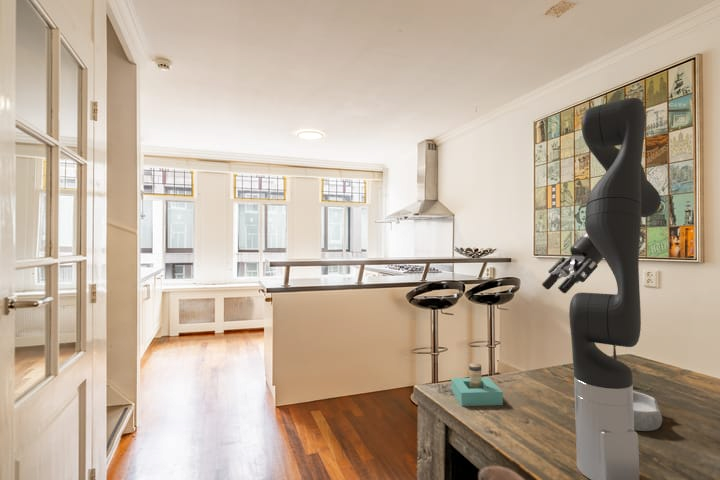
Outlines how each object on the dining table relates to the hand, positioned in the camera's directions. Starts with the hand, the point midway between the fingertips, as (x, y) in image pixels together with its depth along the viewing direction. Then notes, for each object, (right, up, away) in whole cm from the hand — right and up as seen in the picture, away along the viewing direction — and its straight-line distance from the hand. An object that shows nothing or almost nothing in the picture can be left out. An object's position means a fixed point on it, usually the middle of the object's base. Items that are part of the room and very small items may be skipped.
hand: (552, 289), depth 101 cm
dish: (+13, -31, -9) cm, 35 cm away
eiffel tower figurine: (+25, -31, +13) cm, 42 cm away
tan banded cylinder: (-19, -31, +5) cm, 37 cm away
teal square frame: (-19, -31, +5) cm, 37 cm away
